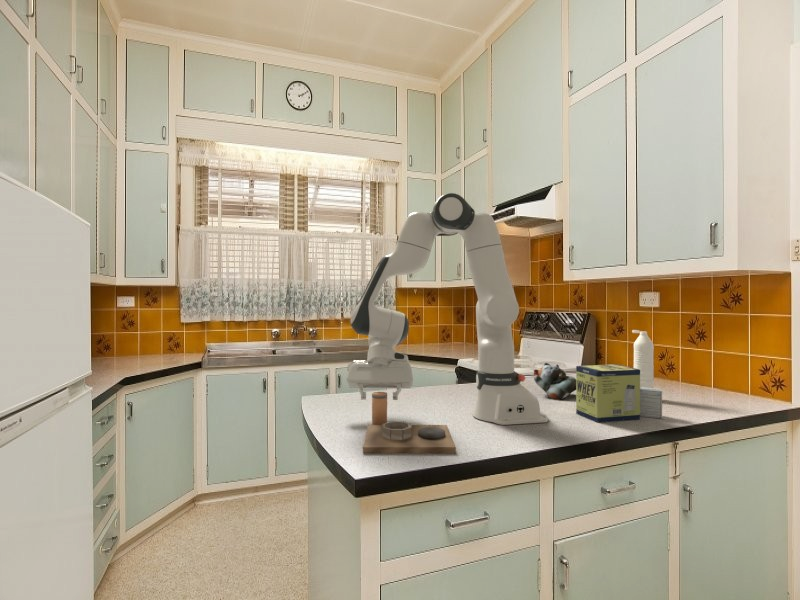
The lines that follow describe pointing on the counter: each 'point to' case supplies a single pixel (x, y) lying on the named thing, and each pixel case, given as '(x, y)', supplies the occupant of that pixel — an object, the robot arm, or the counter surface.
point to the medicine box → (650, 402)
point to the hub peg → (379, 408)
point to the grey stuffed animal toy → (554, 381)
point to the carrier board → (408, 438)
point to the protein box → (608, 392)
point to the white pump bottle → (644, 358)
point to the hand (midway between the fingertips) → (379, 398)
